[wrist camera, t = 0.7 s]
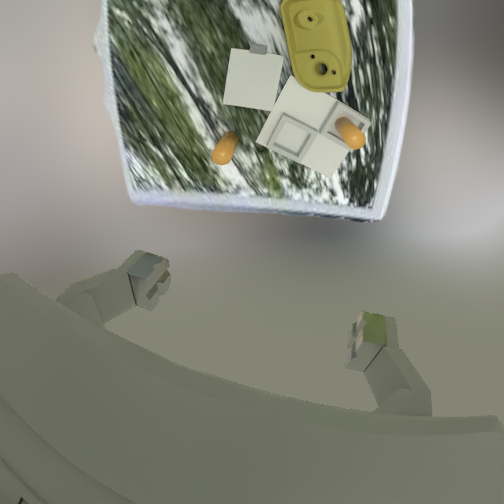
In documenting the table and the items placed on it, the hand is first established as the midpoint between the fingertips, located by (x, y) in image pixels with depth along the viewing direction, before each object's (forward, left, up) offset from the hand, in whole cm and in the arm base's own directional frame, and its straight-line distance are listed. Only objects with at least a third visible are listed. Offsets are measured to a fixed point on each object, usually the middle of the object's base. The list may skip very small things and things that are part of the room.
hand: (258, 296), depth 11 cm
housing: (+2, +9, -49) cm, 50 cm away
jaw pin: (+12, -5, -49) cm, 50 cm away
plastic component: (-15, +2, -49) cm, 51 cm away
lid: (-2, -6, -49) cm, 49 cm away
